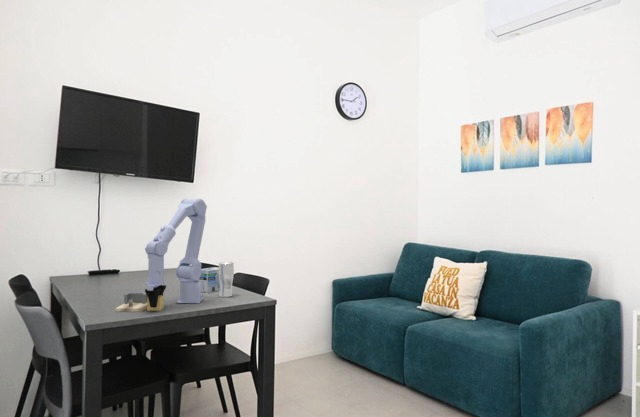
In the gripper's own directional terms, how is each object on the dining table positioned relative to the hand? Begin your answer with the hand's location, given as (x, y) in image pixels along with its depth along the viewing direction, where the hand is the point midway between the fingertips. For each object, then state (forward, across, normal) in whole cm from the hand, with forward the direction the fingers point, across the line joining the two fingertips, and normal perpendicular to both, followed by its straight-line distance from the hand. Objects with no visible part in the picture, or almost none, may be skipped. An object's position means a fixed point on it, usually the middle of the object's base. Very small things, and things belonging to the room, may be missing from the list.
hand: (155, 305), depth 173 cm
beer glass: (+2, -26, +24) cm, 35 cm away
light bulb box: (+2, -39, +14) cm, 42 cm away
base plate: (+1, -2, -9) cm, 9 cm away
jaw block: (+1, 0, 0) cm, 1 cm away
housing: (0, -6, -10) cm, 11 cm away
